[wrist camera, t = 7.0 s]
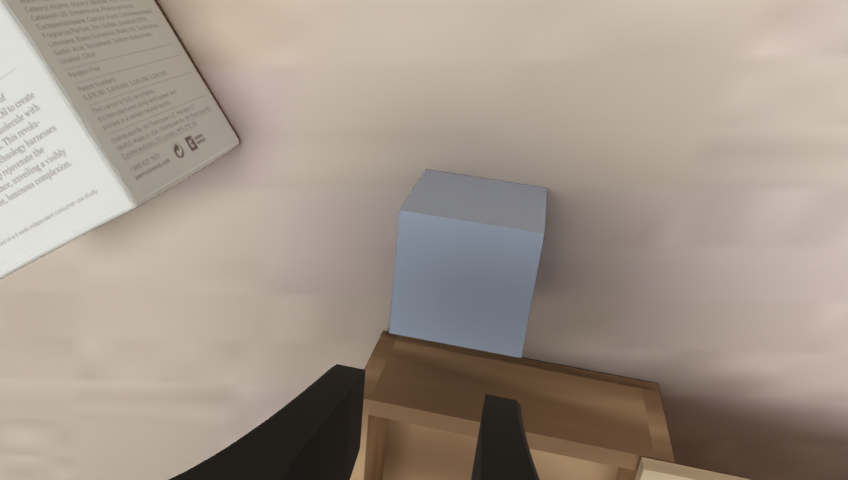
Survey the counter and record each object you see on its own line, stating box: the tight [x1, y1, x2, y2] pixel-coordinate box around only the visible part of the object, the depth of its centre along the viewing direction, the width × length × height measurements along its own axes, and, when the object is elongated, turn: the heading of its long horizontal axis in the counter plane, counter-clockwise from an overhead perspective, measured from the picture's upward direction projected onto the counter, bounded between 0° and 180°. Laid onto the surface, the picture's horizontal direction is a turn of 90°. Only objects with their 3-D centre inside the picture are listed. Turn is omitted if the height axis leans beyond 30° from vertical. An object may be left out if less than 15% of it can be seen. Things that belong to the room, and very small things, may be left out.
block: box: [389, 169, 547, 358], centre depth 20 cm, size 4×4×4 cm
